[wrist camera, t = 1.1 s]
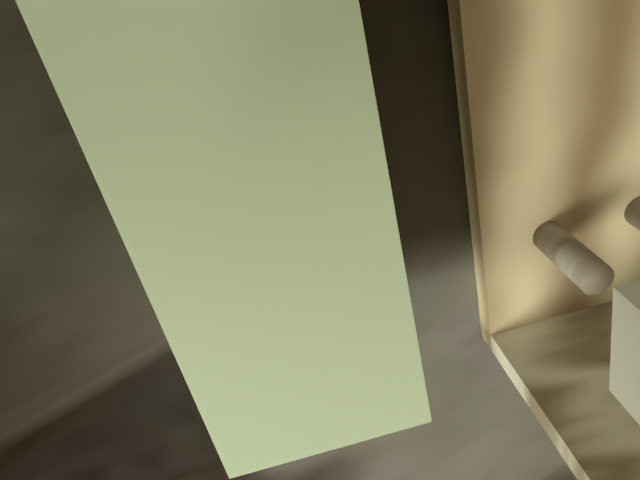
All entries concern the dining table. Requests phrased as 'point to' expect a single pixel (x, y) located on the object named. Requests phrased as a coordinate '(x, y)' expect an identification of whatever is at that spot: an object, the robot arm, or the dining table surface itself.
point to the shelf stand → (554, 205)
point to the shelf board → (250, 209)
